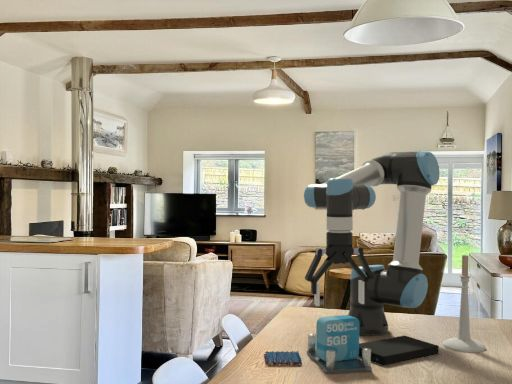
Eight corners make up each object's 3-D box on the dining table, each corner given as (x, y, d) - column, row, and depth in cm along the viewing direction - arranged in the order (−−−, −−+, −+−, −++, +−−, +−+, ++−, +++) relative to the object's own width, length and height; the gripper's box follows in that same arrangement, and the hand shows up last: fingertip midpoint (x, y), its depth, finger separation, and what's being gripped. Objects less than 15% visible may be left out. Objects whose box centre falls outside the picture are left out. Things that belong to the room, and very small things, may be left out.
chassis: (346, 351, 178) (347, 332, 177) (372, 371, 158) (372, 350, 158) (306, 353, 175) (306, 333, 175) (327, 374, 156) (327, 352, 155)
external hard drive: (438, 355, 176) (438, 345, 176) (383, 367, 164) (383, 356, 164) (403, 344, 188) (404, 335, 188) (350, 354, 176) (350, 344, 176)
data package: (323, 363, 162) (324, 320, 162) (315, 358, 166) (316, 317, 166) (359, 358, 167) (359, 317, 167) (350, 354, 171) (351, 314, 171)
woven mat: (263, 357, 172) (263, 350, 172) (298, 357, 173) (298, 350, 173) (265, 368, 162) (265, 361, 162) (302, 368, 162) (302, 361, 162)
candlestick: (475, 355, 176) (477, 257, 175) (436, 346, 184) (437, 253, 184) (491, 346, 185) (492, 254, 185) (453, 339, 194) (454, 250, 193)
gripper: (374, 229, 172) (374, 299, 173) (294, 231, 167) (294, 303, 168) (385, 231, 165) (384, 304, 166) (301, 233, 160) (301, 309, 161)
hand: (339, 304), depth 167 cm, fingers open, 13 cm apart
